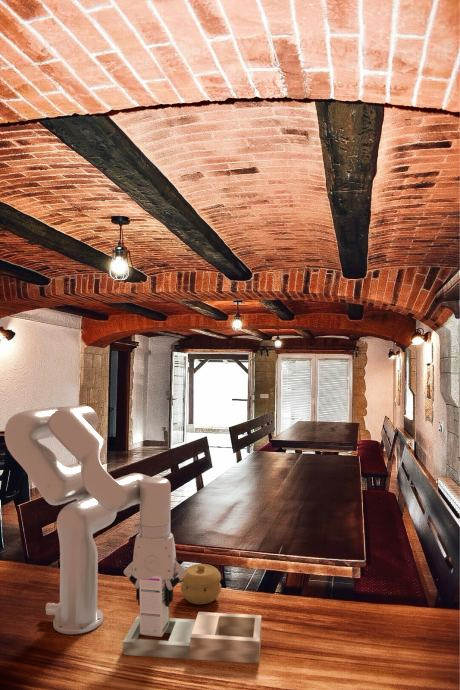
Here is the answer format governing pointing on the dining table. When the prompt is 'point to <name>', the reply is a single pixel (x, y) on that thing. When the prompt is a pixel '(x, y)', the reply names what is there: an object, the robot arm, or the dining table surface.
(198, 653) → the rack
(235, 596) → the dining table surface
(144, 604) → the syrup box
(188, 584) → the beige rounded piece
